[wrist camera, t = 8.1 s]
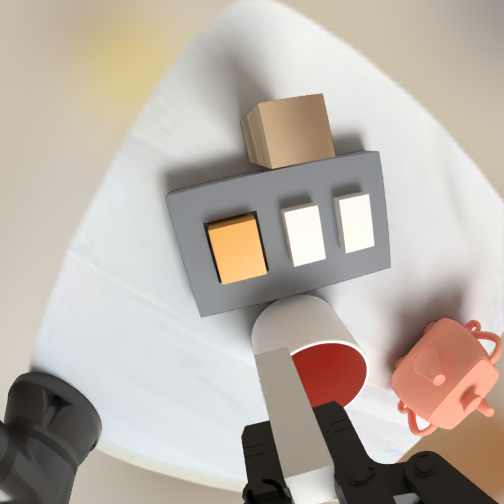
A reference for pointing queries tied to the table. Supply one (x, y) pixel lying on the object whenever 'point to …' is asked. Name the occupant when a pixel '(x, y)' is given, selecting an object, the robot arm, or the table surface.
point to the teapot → (446, 375)
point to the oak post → (288, 131)
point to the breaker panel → (271, 228)
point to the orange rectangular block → (237, 248)
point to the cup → (314, 348)
